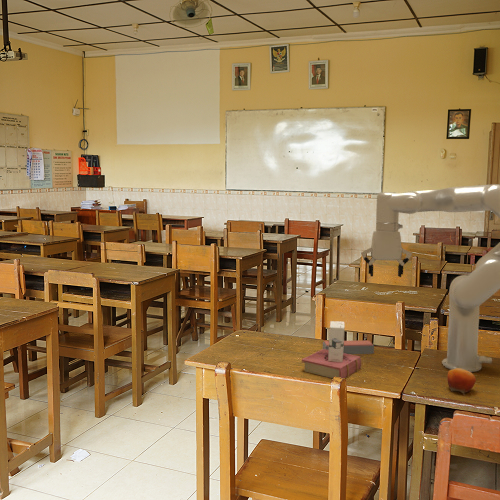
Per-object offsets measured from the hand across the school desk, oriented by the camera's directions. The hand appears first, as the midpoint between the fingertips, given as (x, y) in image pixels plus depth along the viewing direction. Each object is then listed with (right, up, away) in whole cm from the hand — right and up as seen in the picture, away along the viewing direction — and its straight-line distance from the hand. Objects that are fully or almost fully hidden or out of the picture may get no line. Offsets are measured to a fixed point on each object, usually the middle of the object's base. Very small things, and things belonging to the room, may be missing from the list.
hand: (385, 276), depth 189 cm
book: (-20, -32, -7) cm, 39 cm away
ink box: (-19, -27, -8) cm, 34 cm away
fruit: (+16, -34, -26) cm, 45 cm away
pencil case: (-11, -29, +13) cm, 34 cm away
